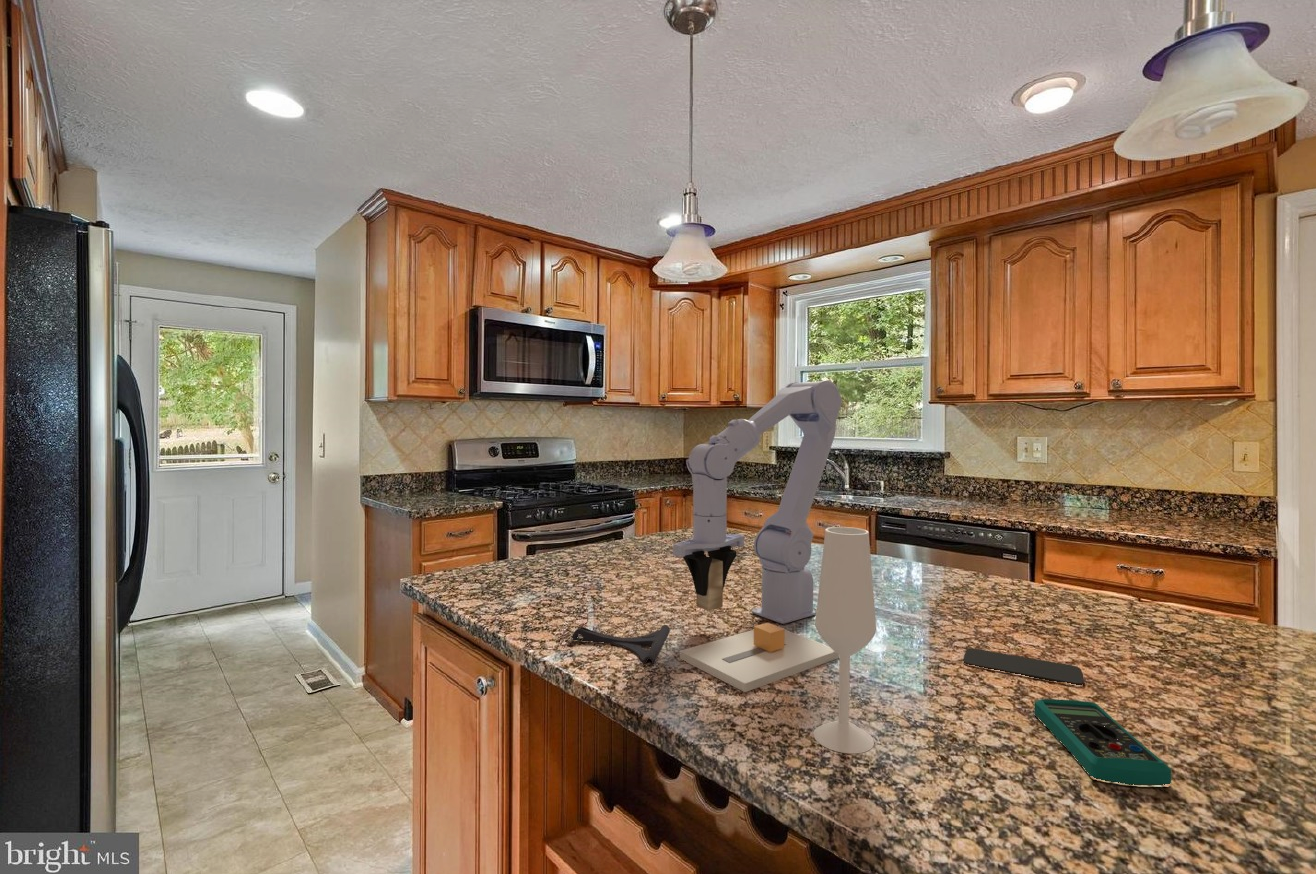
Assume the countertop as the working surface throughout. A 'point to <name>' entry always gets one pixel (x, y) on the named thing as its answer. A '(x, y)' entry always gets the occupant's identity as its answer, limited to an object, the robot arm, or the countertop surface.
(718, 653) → the switch panel
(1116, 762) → the digital multimeter
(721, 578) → the tall stone pillar
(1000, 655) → the phone
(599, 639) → the bracket
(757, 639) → the block
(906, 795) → the countertop surface
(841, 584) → the champagne flute
